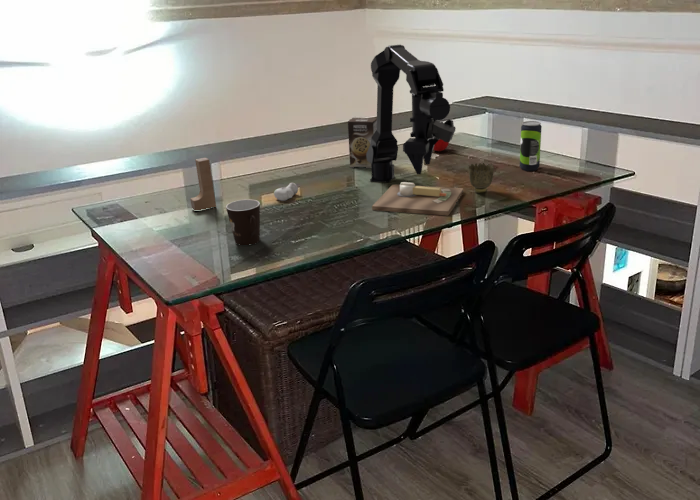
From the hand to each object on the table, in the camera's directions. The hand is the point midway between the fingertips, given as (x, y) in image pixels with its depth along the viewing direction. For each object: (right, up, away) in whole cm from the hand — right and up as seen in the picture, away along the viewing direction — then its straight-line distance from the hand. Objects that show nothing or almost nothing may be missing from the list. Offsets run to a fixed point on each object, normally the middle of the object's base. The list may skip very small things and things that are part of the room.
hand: (423, 169), depth 184 cm
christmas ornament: (+12, +14, +60) cm, 62 cm away
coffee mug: (-47, -21, -11) cm, 52 cm away
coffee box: (-15, +7, +48) cm, 51 cm away
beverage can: (+38, +4, +34) cm, 51 cm away
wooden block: (-64, -10, +16) cm, 67 cm away
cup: (+19, -5, +15) cm, 25 cm away
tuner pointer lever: (+1, -6, +12) cm, 13 cm away
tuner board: (0, -8, +11) cm, 14 cm away
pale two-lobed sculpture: (-39, -7, +21) cm, 45 cm away
